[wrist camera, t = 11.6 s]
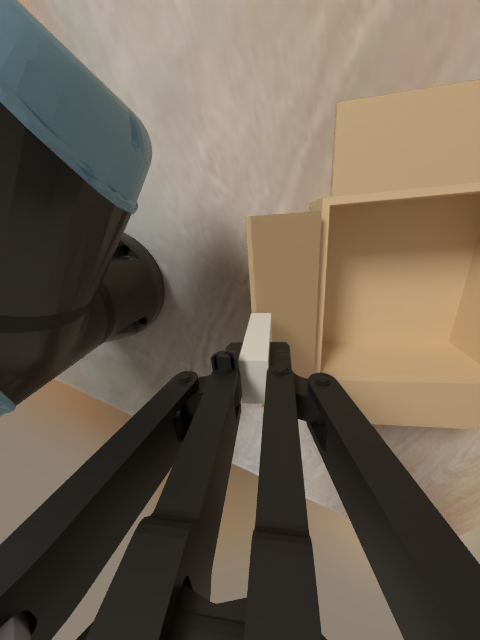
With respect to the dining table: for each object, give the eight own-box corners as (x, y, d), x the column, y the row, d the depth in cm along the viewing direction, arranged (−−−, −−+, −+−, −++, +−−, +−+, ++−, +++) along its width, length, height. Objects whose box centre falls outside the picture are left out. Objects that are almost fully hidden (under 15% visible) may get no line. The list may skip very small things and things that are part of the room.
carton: (305, 379, 36) (312, 421, 28) (312, 138, 24) (327, 104, 17) (439, 382, 33) (485, 429, 25) (519, 109, 21) (644, 53, 14)
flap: (309, 374, 25) (257, 403, 22) (315, 211, 19) (245, 217, 16) (313, 377, 25) (261, 407, 22) (321, 211, 19) (250, 216, 16)
